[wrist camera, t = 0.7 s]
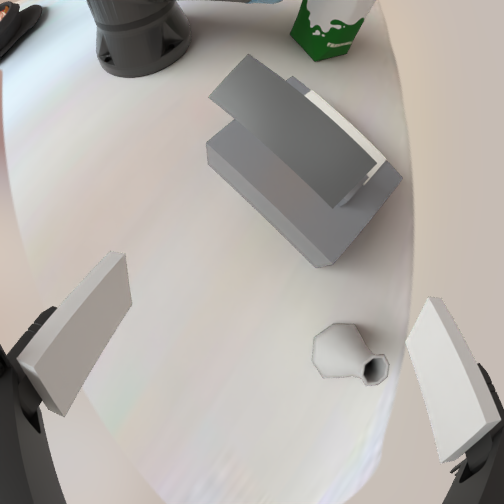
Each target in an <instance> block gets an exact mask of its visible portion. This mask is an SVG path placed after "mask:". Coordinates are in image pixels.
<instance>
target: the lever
mask: <svg viewBox="0 0 504 504" xmlns="http://www.w3.org/2000/svg"><path fill="white" fill-rule="evenodd" d="M208 98H210V99H211V100H212V101H213V102H215V103H216V104H217V105H218V106H220V107H221V108H222V109H223V110H225V111H226V112H227V113H228V114H229V115H231V116H232V117H233V118H234V119H235V120H237V121H238V122H239V123H240V124H241V125H243V126H244V127H245V128H246V129H247V130H248V131H250V132H251V133H252V134H253V135H254V136H255V137H256V138H258V139H259V140H260V141H261V142H262V143H263V144H264V145H266V146H267V147H268V148H269V149H270V150H271V151H272V152H273V153H274V154H276V155H277V156H278V157H279V158H280V159H281V160H282V161H283V162H284V163H285V164H287V165H288V166H289V167H290V168H291V169H292V170H293V171H294V172H295V173H296V174H297V175H298V176H299V177H300V178H301V179H303V180H304V181H305V182H306V183H307V184H308V185H309V186H310V187H311V188H312V189H313V190H314V191H315V192H316V193H317V194H318V195H319V196H320V197H321V198H322V199H323V200H324V201H325V202H326V203H327V204H328V205H329V206H330V207H331V208H332V209H333V208H334V207H335V206H336V205H337V204H338V203H339V202H340V201H341V200H342V199H343V198H344V197H345V196H346V195H347V194H348V193H349V192H350V191H351V190H352V189H353V188H354V187H355V186H356V185H357V184H358V183H359V182H360V181H361V180H362V179H363V177H364V176H365V175H366V174H367V173H368V172H369V171H370V170H371V169H372V168H373V167H374V166H375V165H376V164H377V162H376V161H375V160H374V159H373V158H372V157H371V156H370V155H369V154H368V153H367V152H366V151H365V150H364V149H363V148H362V147H361V146H360V145H359V144H358V143H357V142H356V141H355V140H354V139H353V138H352V137H350V136H349V135H348V134H347V133H346V132H345V131H344V130H343V129H342V128H341V127H340V126H339V125H338V124H336V123H335V122H334V121H333V120H332V119H331V118H330V117H329V116H328V115H326V114H325V113H324V112H323V111H322V110H321V109H319V108H318V107H317V106H316V105H315V104H314V103H312V102H311V101H310V100H309V99H308V98H306V97H305V96H304V95H303V94H301V93H300V92H299V91H298V90H297V89H295V88H294V87H293V86H291V85H290V84H289V83H288V82H286V81H285V80H284V79H282V78H281V77H280V76H279V75H277V74H276V73H275V72H273V71H272V70H270V69H269V68H268V67H266V66H265V65H264V64H262V63H261V62H259V61H258V60H257V59H255V58H254V57H252V56H251V55H249V54H248V55H247V56H246V57H245V58H244V59H243V60H242V61H241V62H240V63H239V64H238V65H237V66H236V67H235V68H234V69H233V70H232V71H231V73H230V74H229V75H228V76H227V77H226V78H225V79H224V80H223V81H222V82H221V83H220V85H219V86H218V87H217V88H216V89H215V90H214V91H213V93H212V94H211V95H210V96H209V97H208Z"/></svg>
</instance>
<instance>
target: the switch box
mask: <svg viewBox="0 0 504 504" xmlns="http://www.w3.org/2000/svg"><path fill="white" fill-rule="evenodd" d="M286 82H288V83H289V84H290V85H291V86H293V87H294V88H295V89H297V90H298V91H299V92H300V93H301V94H303V95H304V96H305V97H306V98H308V99H309V100H310V101H311V102H312V103H314V104H315V105H316V106H317V107H318V108H319V109H321V110H322V111H323V112H324V113H325V114H326V115H328V116H329V117H330V118H331V119H332V120H333V121H334V122H335V123H336V124H338V125H339V126H340V127H341V128H342V129H343V130H344V131H345V132H346V133H347V134H348V135H349V136H350V137H352V138H353V139H354V140H355V141H356V142H357V143H358V144H359V145H360V146H361V147H362V148H363V149H364V150H365V151H366V152H367V153H368V154H369V155H370V156H371V157H372V158H373V159H374V160H375V161H376V162H377V164H376V165H375V166H374V167H373V168H372V169H371V170H370V171H369V172H368V173H367V174H366V175H365V176H364V177H363V179H362V180H361V181H360V182H359V183H358V184H357V185H356V186H355V187H354V188H353V189H352V190H351V191H350V192H349V193H348V194H347V195H346V196H345V197H344V198H343V199H342V200H341V201H340V202H339V203H338V204H337V205H336V206H335V207H334V208H333V209H332V208H331V207H330V206H329V205H328V204H327V203H326V202H325V201H324V200H323V199H322V198H321V197H320V196H319V195H318V194H317V193H316V192H315V191H314V190H313V189H312V188H311V187H310V186H309V185H308V184H307V183H306V182H305V181H304V180H303V179H301V178H300V177H299V176H298V175H297V174H296V173H295V172H294V171H293V170H292V169H291V168H290V167H289V166H288V165H287V164H285V163H284V162H283V161H282V160H281V159H280V158H279V157H278V156H277V155H276V154H274V153H273V152H272V151H271V150H270V149H269V148H268V147H267V146H266V145H264V144H263V143H262V142H261V141H260V140H259V139H258V138H256V137H255V136H254V135H253V134H252V133H251V132H250V131H248V130H247V129H246V128H245V127H244V126H243V125H241V124H240V123H239V122H238V121H237V120H235V119H234V120H233V121H232V122H230V123H229V124H228V125H227V126H225V127H224V128H223V129H222V130H221V131H219V132H218V133H217V134H216V135H215V136H213V137H212V138H211V139H210V140H209V141H207V142H206V148H207V159H208V165H209V166H210V167H211V168H213V169H214V170H215V171H216V172H217V173H218V174H219V175H220V176H221V177H222V178H223V179H224V180H225V181H226V182H228V183H229V184H230V185H231V186H232V187H233V188H234V189H235V190H236V191H237V192H238V193H239V194H240V195H241V196H242V197H243V198H244V199H246V200H247V201H248V202H249V203H250V204H251V205H252V206H253V207H254V208H255V209H256V210H257V211H258V212H259V213H260V214H261V215H262V216H263V217H264V218H265V219H266V220H267V221H268V222H269V223H271V224H272V225H273V226H274V227H275V228H276V229H277V230H278V231H279V232H280V233H281V234H282V235H283V236H284V237H285V238H286V239H287V240H288V241H289V242H290V243H291V244H292V245H293V246H294V247H295V248H296V249H297V250H298V251H299V252H300V253H301V254H302V255H303V256H304V257H305V258H306V259H307V260H308V261H309V262H310V263H311V264H312V265H313V266H314V267H315V268H317V267H322V266H327V265H332V264H334V263H335V262H336V260H337V259H338V258H339V257H340V256H341V255H342V253H343V252H344V251H345V250H346V249H347V248H348V246H349V245H350V244H351V243H352V242H353V240H354V239H355V238H356V237H357V236H358V234H359V233H360V232H361V231H362V230H363V228H364V227H365V226H366V225H367V224H368V222H369V221H370V220H371V219H372V217H373V216H374V215H375V214H376V212H377V211H378V210H379V209H380V207H381V206H382V205H383V204H384V202H385V201H386V200H387V199H388V197H389V196H390V195H391V193H392V192H393V191H394V190H395V188H396V187H397V186H398V184H399V183H400V182H401V180H402V179H403V177H402V176H401V175H400V174H399V173H398V172H397V171H396V170H395V169H394V168H393V167H392V165H391V164H390V163H389V162H388V161H387V160H386V158H385V157H384V156H383V155H382V154H381V153H380V152H379V150H378V149H377V148H376V147H375V146H374V145H373V144H372V143H371V142H370V141H369V140H367V139H366V138H365V137H364V136H363V135H362V134H361V133H360V132H359V131H358V130H357V129H356V128H355V127H354V126H353V125H352V124H351V123H350V122H348V121H347V120H346V119H345V118H344V117H343V116H342V115H341V114H340V113H339V112H337V111H336V110H335V109H334V108H333V107H332V106H331V105H329V104H328V103H327V102H326V101H325V100H324V99H322V98H321V97H320V96H319V95H318V94H316V93H315V92H314V91H313V90H310V89H309V88H307V87H306V86H305V85H304V84H302V83H301V82H300V81H299V80H297V79H296V78H295V77H293V76H292V77H290V78H289V79H287V80H286Z"/></svg>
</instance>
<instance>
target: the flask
mask: <svg viewBox="0 0 504 504" xmlns="http://www.w3.org/2000/svg"><path fill="white" fill-rule="evenodd" d="M312 362H313V364H314V365H315V367H316V368H317V370H318V371H319V373H320V374H321V376H322V378H340V377H350V376H353V377H357V378H360V379H362V381H363V382H364V384H365V386H372V385H378V384H380V383H381V382H382V381H383V380H384V379H386V378H387V377H388V371H389V365H390V364H389V363H388V361H387V359H386V357H385V355H384V354H379V355H375V354H373V353H372V352H371V351H370V350H369V349H368V348H367V346H366V344H365V342H364V340H363V339H362V337H361V335H360V333H359V332H358V330H357V328H356V326H355V325H354V324H332V325H331V326H330V327H328V328H327V329H325V330H324V331H323V332H321V333H320V334H318V335H317V336H315V337H314V343H313V352H312Z"/></svg>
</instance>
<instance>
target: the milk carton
mask: <svg viewBox="0 0 504 504" xmlns="http://www.w3.org/2000/svg"><path fill="white" fill-rule="evenodd" d="M375 1H376V0H303V1H302V4H301V7H300V10H299V13H298V16H297V19H296V21H295V23H294V26H293V28H292V30H291V33H290V35H291V36H292V37H293V38H294V39H295V40H296V41H297V43H298V44H299V45H300V46H301V47H302V48H303V49H304V50H305V51H306V52H307V53H308V55H309V56H310V57H311V58H312V59H313V60H314V61H315V62H316V61H320V60H323V59H327V58H331V57H335V56H339V55H344V54H347V52H348V50H349V48H350V46H351V44H352V42H353V40H354V38H355V36H356V34H357V32H358V31H359V29H360V27H361V25H362V23H363V22H364V20H365V18H366V16H367V14H368V13H369V11H370V9H371V7H372V6H373V4H374V2H375Z"/></svg>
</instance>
